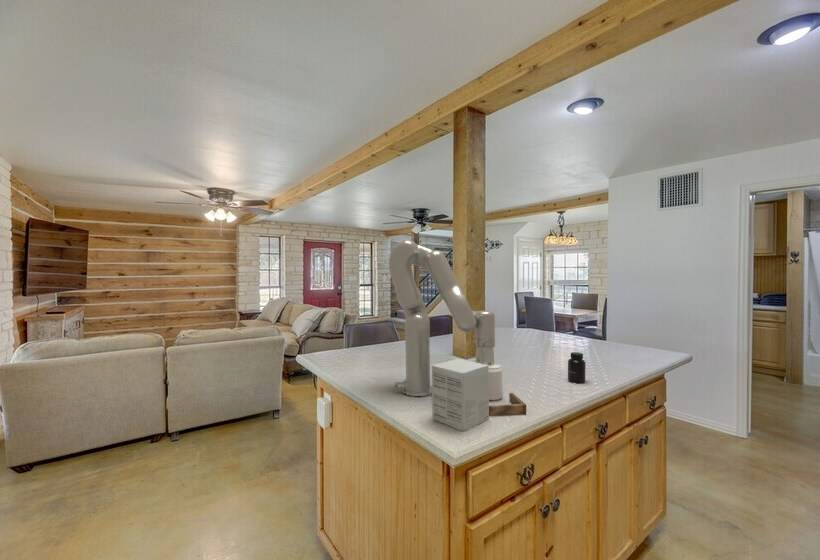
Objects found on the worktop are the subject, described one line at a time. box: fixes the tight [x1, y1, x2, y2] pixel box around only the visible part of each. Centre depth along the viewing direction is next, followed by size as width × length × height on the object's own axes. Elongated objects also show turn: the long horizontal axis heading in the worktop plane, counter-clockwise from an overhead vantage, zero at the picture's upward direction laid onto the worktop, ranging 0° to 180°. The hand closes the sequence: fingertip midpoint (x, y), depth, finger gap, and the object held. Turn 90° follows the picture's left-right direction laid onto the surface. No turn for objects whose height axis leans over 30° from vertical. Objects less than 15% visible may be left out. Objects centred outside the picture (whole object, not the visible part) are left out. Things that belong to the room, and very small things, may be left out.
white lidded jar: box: [488, 363, 504, 401], centre depth 136 cm, size 8×8×12 cm
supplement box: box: [431, 358, 490, 432], centre depth 116 cm, size 13×13×18 cm
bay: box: [489, 392, 527, 417], centre depth 125 cm, size 13×12×3 cm
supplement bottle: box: [567, 351, 587, 385], centre depth 154 cm, size 7×7×12 cm
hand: (485, 389), depth 142 cm, fingers closed
